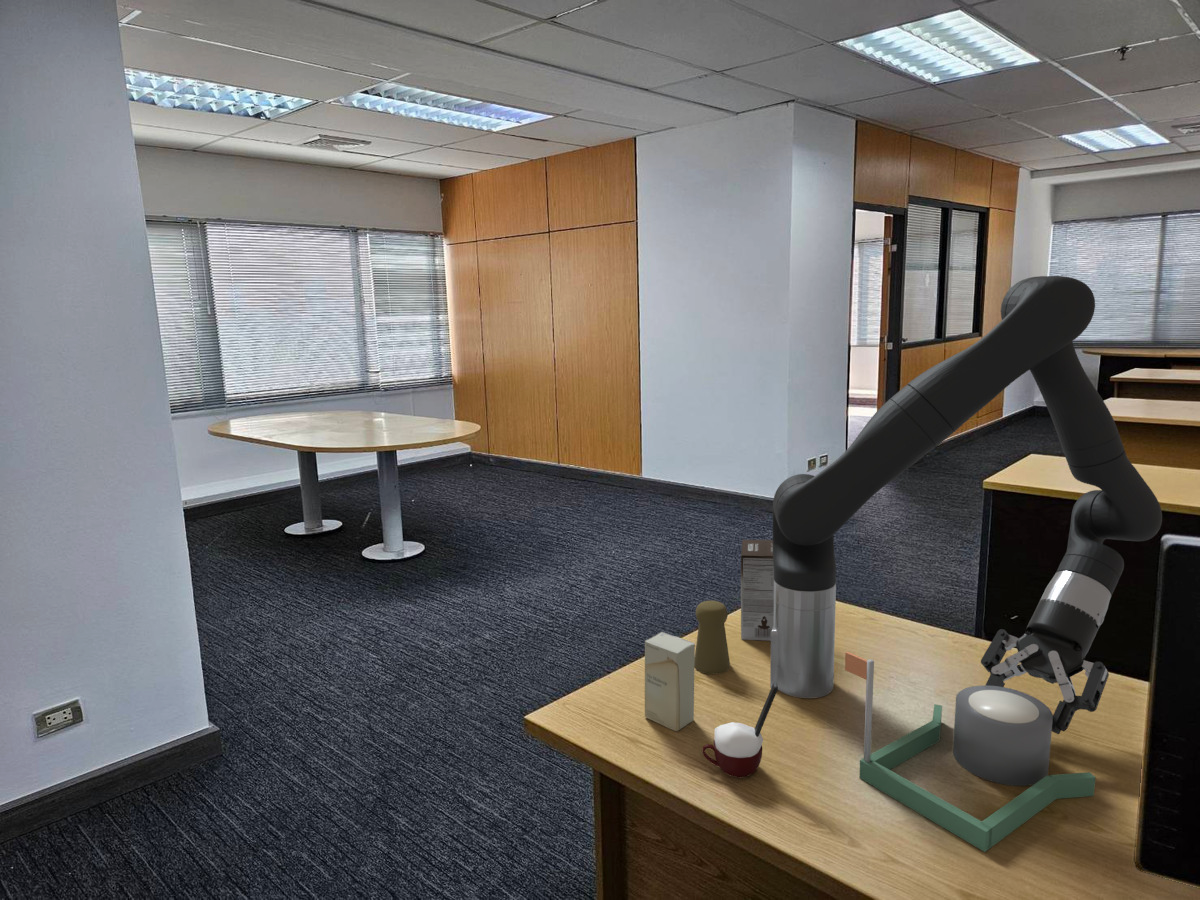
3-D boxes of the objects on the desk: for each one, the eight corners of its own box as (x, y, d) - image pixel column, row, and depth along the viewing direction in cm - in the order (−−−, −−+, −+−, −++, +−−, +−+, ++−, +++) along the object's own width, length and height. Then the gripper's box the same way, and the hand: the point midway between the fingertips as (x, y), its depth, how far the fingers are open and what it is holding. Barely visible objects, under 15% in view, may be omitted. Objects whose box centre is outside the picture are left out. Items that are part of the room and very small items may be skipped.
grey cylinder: (954, 775, 96) (958, 720, 95) (951, 729, 106) (953, 679, 105) (1054, 793, 92) (1060, 736, 91) (1041, 744, 102) (1045, 691, 101)
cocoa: (699, 776, 99) (693, 691, 96) (716, 749, 104) (710, 668, 102) (771, 793, 94) (767, 705, 92) (785, 764, 100) (781, 680, 97)
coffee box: (741, 619, 145) (741, 538, 142) (776, 620, 144) (776, 539, 141) (740, 640, 136) (740, 554, 133) (777, 642, 135) (778, 555, 132)
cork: (708, 653, 132) (708, 593, 129) (737, 664, 127) (737, 602, 125) (686, 666, 127) (685, 604, 125) (715, 677, 123) (715, 614, 121)
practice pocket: (931, 717, 110) (936, 612, 107) (1095, 794, 92) (1107, 671, 89) (840, 766, 99) (843, 651, 96) (1005, 864, 81) (1016, 727, 78)
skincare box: (643, 717, 112) (641, 640, 110) (662, 705, 115) (661, 630, 113) (678, 733, 108) (676, 653, 106) (696, 720, 111) (695, 642, 109)
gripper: (1008, 584, 109) (958, 683, 105) (1120, 615, 97) (1068, 728, 93) (1025, 609, 113) (977, 706, 109) (1135, 643, 101) (1086, 752, 97)
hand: (1019, 716), depth 101 cm, fingers open, 8 cm apart
